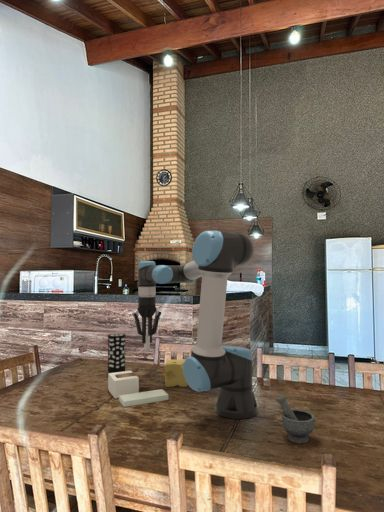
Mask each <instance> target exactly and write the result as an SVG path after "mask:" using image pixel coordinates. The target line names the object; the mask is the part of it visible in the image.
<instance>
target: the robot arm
mask: <svg viewBox="0 0 384 512" xmlns="http://www.w3.org/2000/svg"><path fill="white" fill-rule="evenodd" d="M191 251H192V253H191V254H192V258H193V260H192V261H190V262H189V261H188V262H187V263H185V264H183V265H165V264H158V265H156V262H155V261H153V260H151V261H150V260H149V261H148V260H147V261H146V260H145V261H144V260H141V261H139V262H138V268H137V269H138V270H137V273H138V274H137V275H138V276H137V277H138V278H137V279H138V283H137V284H138V292H137V293H138V298H137V300H138V303H137V304H138V307H137V309H136V311H135V312H132V313H131V315H132V316H133V318H134V322H135V326H136V331H137V334H138V335H140V336H141V343H142V344H143V350H144V351H145V352H151V344H152V341H153V335H155V334H156V333H157V329H158V326H159V321H160V317H161V315H162V312H161V311H159V310H158V309H157V307H156V305H157V303H156V300H157V299H156V287H157V285H156V284H159V285H162V284H163V285H165V284H175V283H176V284H178V283H180V284H183V283H184V284H185V283H186V284H190V283H194V282H196V281H197V280H198V279H199V278H201V284H200V285H201V287H200V298H199V299H200V300H199V310H198V321H197V322H198V323H197V330H196V331H197V333H196V343H195V345H193V346H192V347H191V351H190V356H188V357H186V358H184V359H185V360H184V363H183V373H184V377H185V379H186V381H187V383H188V386H189V388H190V389H192V390H193V391H195V392H197V393H200V392H208V391H211V390H213V389H218V388H220V389H219V392H218V395H217V399H216V402H215V412H216V413H217V415H219V416H221V417H224V418H227V419H231V420H232V419H233V420H243V419H250V418H253V417H255V416H256V415H257V414H258V408H259V407H258V402H257V399H256V397H255V394H254V391H253V360H254V359H253V354H252V351H251V349H249V348H247V347H243V346H236V345H226V344H225V345H223V343H222V342H223V332H224V323H225V310H226V298H227V291H228V290H227V289H228V288H227V286H228V278H229V276H231V275H232V274H233V271H234V269H235V268H237V267H241V266H244V265H246V264H248V263H249V262H250V261H251V259H252V258H253V256H254V251H255V247H254V243H253V241H252V240H251V238H250V237H249V236H248V235H246V234H245V233H242V232H236V231H235V232H233V231H223V230H221V231H220V230H205V231H203V232H201V233H200V234H199V235H198V236H197V237H196V238H195V240H194V242H193V246H192V250H191ZM139 315H140V317H141V323H140V318H139ZM154 315H155V316H154ZM153 316H154V320H153Z"/></svg>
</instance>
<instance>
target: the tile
mask: <svg viewBox="0 0 384 512" xmlns="http://www.w3.org/2000/svg"><path fill="white" fill-rule="evenodd" d="M130 376H137V377H139V383H144V382H151V381H152V373H151V372H149V371H148V370H144V371H136V372H135V371H134V372H133V373H126V374H117V375H116V377H117V378H123V377H130Z"/></svg>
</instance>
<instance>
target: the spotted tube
mask: <svg viewBox="0 0 384 512" xmlns="http://www.w3.org/2000/svg"><path fill="white" fill-rule="evenodd" d="M123 371H126V334H125V333H121V332H120V333H119V332H118V333H109V334H107V374H108V373H115V372H123Z"/></svg>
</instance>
